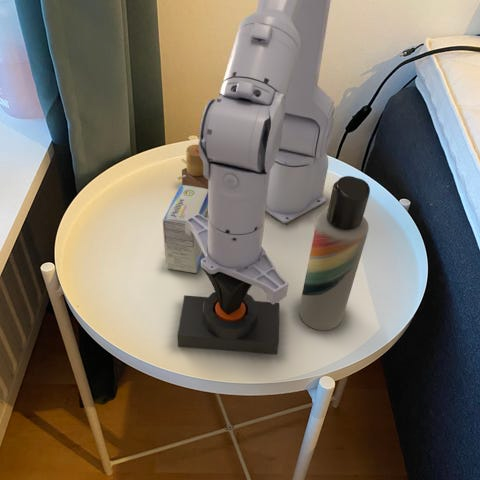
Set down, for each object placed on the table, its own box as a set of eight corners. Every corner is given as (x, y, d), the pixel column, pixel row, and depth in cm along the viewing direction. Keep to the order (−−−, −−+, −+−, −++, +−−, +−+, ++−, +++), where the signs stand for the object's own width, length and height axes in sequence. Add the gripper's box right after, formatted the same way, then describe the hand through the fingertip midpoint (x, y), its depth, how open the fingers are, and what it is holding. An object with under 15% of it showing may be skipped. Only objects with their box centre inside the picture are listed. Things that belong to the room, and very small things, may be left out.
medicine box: (196, 275, 75) (196, 224, 68) (165, 269, 75) (161, 218, 68) (210, 238, 80) (211, 188, 73) (180, 233, 80) (179, 182, 74)
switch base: (177, 346, 66) (176, 325, 63) (184, 306, 71) (183, 284, 68) (276, 354, 66) (280, 333, 63) (277, 314, 71) (280, 292, 68)
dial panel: (221, 159, 94) (222, 142, 91) (261, 187, 89) (263, 170, 87) (164, 184, 88) (163, 167, 86) (204, 215, 83) (204, 198, 81)
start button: (213, 327, 65) (214, 317, 64) (216, 305, 68) (216, 295, 67) (244, 330, 66) (244, 320, 64) (245, 307, 68) (246, 298, 67)
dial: (182, 169, 86) (181, 147, 83) (198, 162, 87) (198, 140, 84) (195, 178, 84) (195, 156, 81) (211, 171, 86) (211, 149, 83)
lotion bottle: (320, 292, 74) (351, 162, 59) (351, 318, 71) (392, 188, 56) (289, 311, 71) (313, 179, 56) (319, 338, 68) (353, 208, 53)
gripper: (160, 196, 57) (166, 289, 67) (256, 272, 50) (246, 363, 60) (213, 173, 60) (211, 264, 70) (309, 241, 53) (291, 331, 63)
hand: (230, 308), depth 65 cm, fingers closed, pressing on start button
